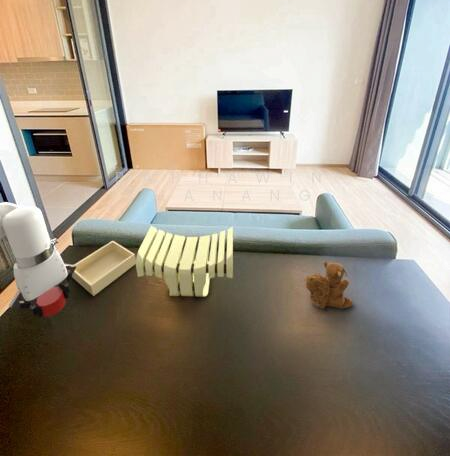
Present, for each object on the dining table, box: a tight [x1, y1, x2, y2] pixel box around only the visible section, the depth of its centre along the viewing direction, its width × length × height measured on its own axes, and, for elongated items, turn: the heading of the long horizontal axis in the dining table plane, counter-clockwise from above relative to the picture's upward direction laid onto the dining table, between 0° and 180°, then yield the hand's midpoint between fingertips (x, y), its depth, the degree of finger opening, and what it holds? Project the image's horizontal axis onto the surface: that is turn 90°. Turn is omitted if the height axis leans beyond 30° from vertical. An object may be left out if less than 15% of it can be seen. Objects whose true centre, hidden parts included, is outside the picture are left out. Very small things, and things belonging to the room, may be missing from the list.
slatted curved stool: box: [135, 225, 234, 297], centre depth 84 cm, size 30×16×18 cm, turn 88°
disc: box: [37, 286, 67, 318], centre depth 68 cm, size 6×6×4 cm
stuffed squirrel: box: [304, 260, 353, 310], centre depth 78 cm, size 10×14×13 cm
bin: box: [71, 240, 136, 297], centre depth 92 cm, size 14×17×5 cm
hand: (52, 304), depth 68 cm, fingers closed on disc, 6 cm apart
